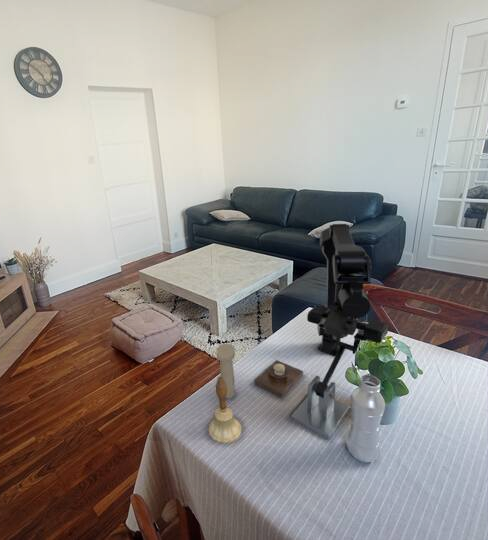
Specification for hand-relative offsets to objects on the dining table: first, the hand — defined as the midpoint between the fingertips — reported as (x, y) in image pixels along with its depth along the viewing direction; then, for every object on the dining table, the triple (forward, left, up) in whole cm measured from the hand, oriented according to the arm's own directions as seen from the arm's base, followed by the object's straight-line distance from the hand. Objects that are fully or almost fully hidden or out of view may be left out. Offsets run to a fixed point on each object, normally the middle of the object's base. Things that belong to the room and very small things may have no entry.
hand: (343, 349), depth 90 cm
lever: (+6, 0, -3) cm, 7 cm away
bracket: (+13, 0, -13) cm, 18 cm away
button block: (+8, -15, -13) cm, 21 cm away
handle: (+22, -23, -13) cm, 34 cm away
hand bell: (+32, -16, -13) cm, 38 cm away
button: (+8, -15, -10) cm, 19 cm away
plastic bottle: (+18, +12, -13) cm, 25 cm away
